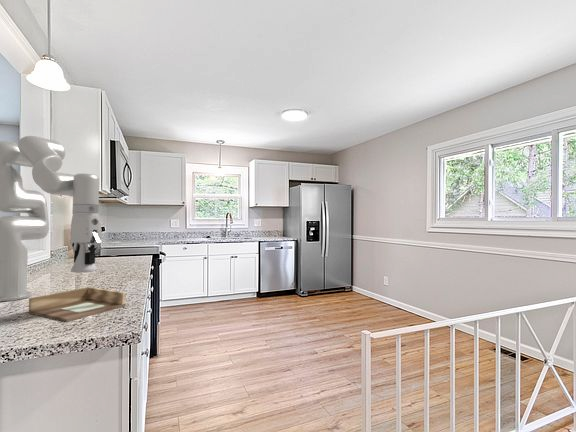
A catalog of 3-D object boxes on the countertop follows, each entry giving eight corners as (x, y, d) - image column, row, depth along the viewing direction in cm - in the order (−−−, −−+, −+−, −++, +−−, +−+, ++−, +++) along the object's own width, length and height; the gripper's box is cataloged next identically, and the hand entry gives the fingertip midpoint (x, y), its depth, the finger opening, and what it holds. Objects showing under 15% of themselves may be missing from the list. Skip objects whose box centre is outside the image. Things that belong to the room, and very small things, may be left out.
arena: (28, 313, 103) (29, 298, 103) (88, 299, 121) (89, 286, 121) (67, 321, 95) (67, 305, 95) (125, 305, 113) (125, 292, 113)
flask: (65, 272, 105) (66, 242, 105) (84, 269, 112) (84, 241, 112) (84, 273, 103) (85, 243, 103) (101, 270, 110) (102, 241, 110)
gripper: (112, 210, 108) (111, 264, 108) (80, 210, 115) (79, 260, 114) (91, 209, 101) (90, 266, 101) (58, 209, 108) (57, 263, 108)
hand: (84, 262), depth 108 cm, fingers closed on flask, 4 cm apart
